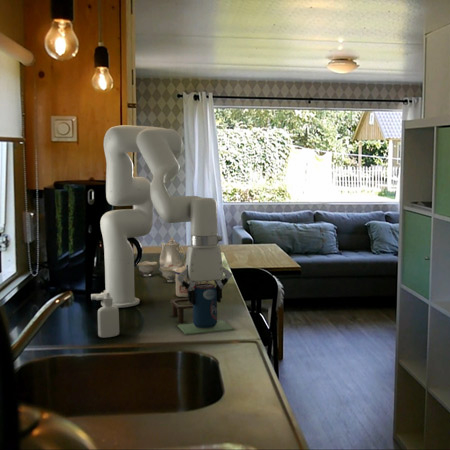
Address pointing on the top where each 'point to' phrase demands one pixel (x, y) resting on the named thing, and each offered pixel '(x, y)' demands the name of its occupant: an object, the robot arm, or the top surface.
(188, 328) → the mat
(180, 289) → the teacup with lid
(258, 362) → the top surface
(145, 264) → the chinaware
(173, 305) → the can rack
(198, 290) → the soda can
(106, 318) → the eye dropper bottle
